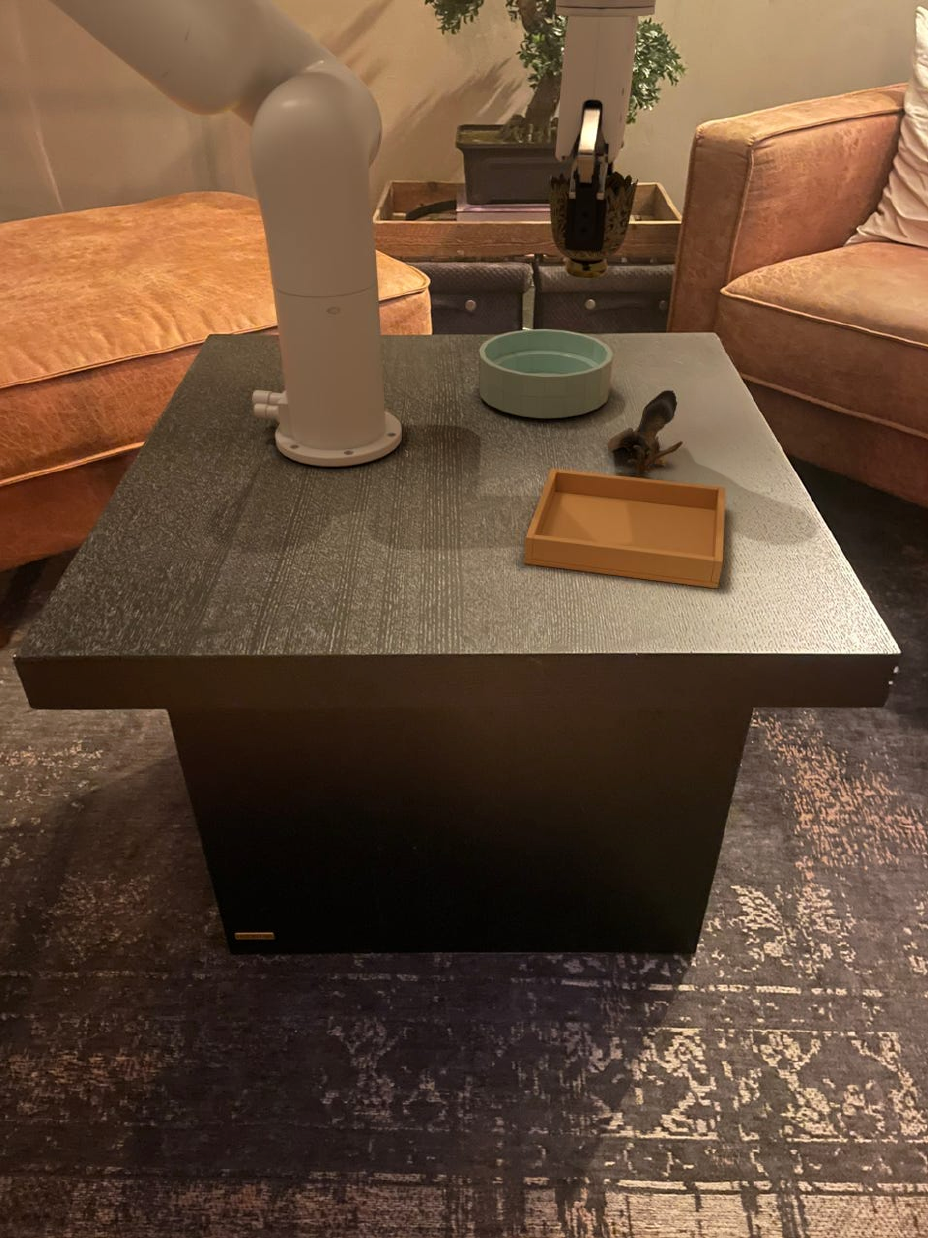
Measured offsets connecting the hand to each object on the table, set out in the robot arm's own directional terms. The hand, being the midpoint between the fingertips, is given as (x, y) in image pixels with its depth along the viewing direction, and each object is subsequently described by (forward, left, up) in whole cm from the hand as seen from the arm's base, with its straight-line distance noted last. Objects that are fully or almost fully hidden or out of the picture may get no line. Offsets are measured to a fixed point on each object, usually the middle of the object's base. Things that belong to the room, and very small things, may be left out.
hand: (588, 235), depth 80 cm
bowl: (-5, +12, -20) cm, 23 cm away
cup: (0, 0, -4) cm, 4 cm away
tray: (+7, -16, -20) cm, 27 cm away
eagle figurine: (+7, -2, -20) cm, 21 cm away
